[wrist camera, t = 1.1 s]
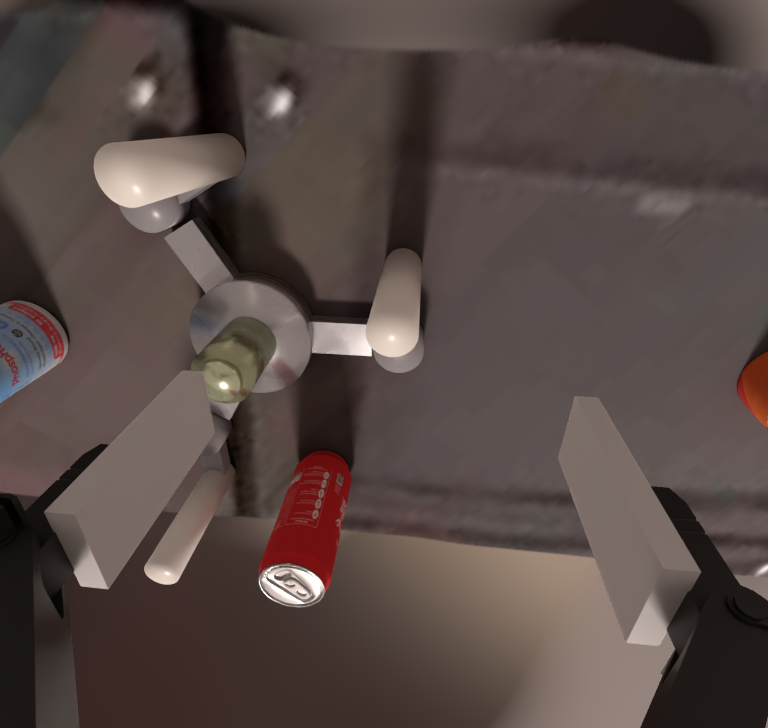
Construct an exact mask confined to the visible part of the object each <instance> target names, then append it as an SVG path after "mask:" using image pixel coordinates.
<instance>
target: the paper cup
mask: <svg viewBox="0 0 768 728" xmlns="http://www.w3.org/2000/svg"><path fill="white" fill-rule="evenodd" d="M737 392H738V395H739V397H740V398H741V400H742V401H743V402H744V404H745V405H746V406H747V407H748V408H749V410H750V411H751V412H752V413H753V414H754V415H755V416H756V417H757V418H758V420H759V421H760V422H761V423H762V424H763V425H764V426H765V427H766V428H767V429H768V351H767V352H764V353H763V354H761V355H759V356H758V357H756V358H755V359H753V360H752V361H751V362H750V363H749V364H748V365H747V366H746V367H745V368H744V370H743V371H742V373H741V374H740V376H739V379H738V382H737Z"/></svg>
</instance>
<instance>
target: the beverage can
mask: <svg viewBox="0 0 768 728" xmlns="http://www.w3.org/2000/svg"><path fill="white" fill-rule="evenodd" d="M351 481H352V477H351V474H350V471H349V467H348V464H347V462H346V461H345V460H344V459H343V458H342V457H341V456H340V455H338V454H336V453H334V452H331V451H327V450H318V451H314V452H312V453H310V454H308V455H307V456H306V457H305V458H304V459H303V460H302V461H301V462H300V463H299V464H298V465H297V467H296V470H295V473H294V475H293V478H292V481H291V483H290V486H289V489H288V491H287V494H286V497H285V499H284V502H283V505H282V507H281V510H280V513H279V515H278V518H277V521H276V523H275V526H274V529H273V531H272V534H271V537H270V540H269V542H268V545H267V547H266V550H265V553H264V556H263V558H262V561H261V564H260V567H259V572H260V576H259V585H260V588H261V590H262V591H263V592H264V593H265V594H266V595H267V596H268V597H269V598H271V599H272V600H274V601H276V602H278V603H280V604H283V605H287V606H292V607H306V606H310V605H313V604H315V603H317V602H319V601H320V600H321V599H322V597H323V595H324V593H325V591H326V589H327V588H328V587H329V585H330V581H331V576H332V571H333V567H334V562H335V557H336V552H337V548H338V543H339V538H340V533H341V529H342V524H343V519H344V514H345V510H346V505H347V500H348V495H349V491H350V486H351Z"/></svg>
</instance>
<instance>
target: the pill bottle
mask: <svg viewBox="0 0 768 728" xmlns="http://www.w3.org/2000/svg"><path fill="white" fill-rule="evenodd" d="M67 351H68V339H67V335H66V333H65V331H64V329H63V327H62V326H61V324H60V323H59V322H58V321H57V320H56V319H55V317H54V316H52V315H51V314H50V313H49V312H47V311H46V310H45V309H43V308H41V307H40V306H38V305H35V304H33V303H30V302H26V301H17V300H16V301H9V302H6V303H3V304H1V305H0V403H1V402H2V401H4V400H5V399H7V398H8V397H10V396H11V395H13V394H14V393H16V392H17V391H19V390H20V389H22V388H23V387H25V386H26V385H28V384H30V383H31V382H32V381H34V380H35V379H37V378H38V377H40V376H41V375H43V374H44V373H46V372H47V371H49V370H50V369H52V368H53V367H55V366H56V365H57V364H59V363H60V362H61V361H62V360H63V359H64V358H65V356H66V354H67Z"/></svg>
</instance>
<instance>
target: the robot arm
mask: <svg viewBox="0 0 768 728" xmlns="http://www.w3.org/2000/svg"><path fill="white" fill-rule="evenodd" d="M214 434H215V429H214V424H213V419H212V414H211V409H210V405H209V400H208V395H207V390H206V385H205V381H204V376H203V372H200V371H184V370H182V371H181V372H180V373H179V374H178V375H177V376H176V377H175V378H174V379H173V380H172V381H171V382H170V383H169V384H168V385H167V386H166V388H165V389H164V390H163V391H162V392H161V393H160V394H159V395H158V396H157V397H156V398H155V399H154V400H153V401H152V402H151V403H150V404H149V405H148V406H147V407H146V408H145V409H144V410H143V411H142V412H141V413H140V414H139V415H138V416H137V417H136V418H135V419H134V420H133V421H132V422H131V423H130V424H129V425H128V426H127V427H126V428H125V429H124V430H123V431H122V432H121V434H120V435H119V436H118V437H117V438H116V439H115V440H114V441H113V442H112V443H111V444H110V445H107V444H100V445H98V446H97V447H95V448H93V449H92V450H90V451H88V452H87V453H85V454H83V455H82V456H81V457H80V458H79V459H78V460H77V461H76V462H75V463H74V464H73V465H72V466H71V467H70V470H67V471H66V472H65V473H64V474H63V475H62V476H61V477H60V479H59V480H57V481H56V482H54V483H53V484H52V485H51V486H50V487H49V488H48V489H47V490H46V491H45V492H44V493H43V494H42V495H41V496H40V497H39V498H38V499H37V500H36V501H35V502H34V503H33V504H32V505H31V506H30V507H29V508H28V509H27V510H26V511H25V510H24V509H23V507H22V505H21V503H20V501H19V499H18V497H17V496H15V495H12V494H0V728H79V720H78V708H77V696H76V686H75V675H74V674H75V673H74V663H73V650H72V639H71V628H70V616H69V605H68V593H67V591H66V588H65V586H64V583H65V582H66V581H67V580H68V578H69V577H70V576H71V574H72V573H73V572H74V574H75V576H76V577H77V579H78V582H79V583H80V586H84V587H93V588H104V589H109V588H110V586H111V585H112V583H113V581H114V580H115V579H116V577H117V576H118V574H119V573H120V571H121V570H122V568H123V567H124V566H125V564H126V563H127V561H128V560H129V558H130V557H131V555H132V554H133V552H134V551H135V549H136V548H137V546H138V545H139V543H140V542H141V541H142V539H143V538H144V536H145V535H146V533H147V532H148V530H149V529H150V527H151V526H152V525H153V523H154V521H155V520H156V518H157V517H158V516H159V514H160V513H161V511H162V510H163V508H164V507H165V505H166V504H167V503H168V501H169V500H170V498H171V497H172V495H173V494H174V492H175V491H176V489H177V488H178V486H179V485H180V483H181V482H182V481H183V479H184V478H185V476H186V475H187V473H188V472H189V470H190V469H191V467H192V466H193V464H194V463H195V461H196V460H197V459H198V457H199V456H200V454H201V453H202V451H203V450H204V448H205V447H206V445H207V444H208V442H209V441H210V440H211V438H212V437H213V435H214ZM558 460H559V462H560V465H561V468H562V471H563V473H564V476H565V479H566V481H567V484H568V487H569V490H570V492H571V495H572V498H573V500H574V503H575V506H576V509H577V511H578V514H579V517H580V519H581V522H582V525H583V528H584V530H585V533H586V536H587V538H588V541H589V544H590V546H591V549H592V552H593V555H594V557H595V560H596V563H597V565H598V568H599V571H600V573H601V576H602V579H603V582H604V584H605V587H606V590H607V593H608V595H609V598H610V601H611V603H612V606H613V609H614V612H615V614H616V617H617V620H618V622H619V625H620V628H621V630H622V633H623V636H624V639H625V641H626V643H634V644H645V645H654V646H659V645H660V643H661V642H662V640H663V638H664V636H665V635H666V633H667V632H668V634H669V636H670V638H671V640H672V642H673V645H674V647H675V650H674V652H673V654H672V655H671V657H670V659H669V660H668V662H667V664H666V666H665V667H664V669H663V670H662V672H661V674H662V675H663V676H662V678H661V681H660V683H659V685H658V688H657V690H656V692H655V695H654V697H653V699H652V702H651V704H650V706H649V709H648V711H647V713H646V716H645V718H644V720H643V723H642V725H641V727H640V728H765V727H766V722H767V718H768V601H767V600H766V599H765V598H763V597H762V596H760V595H759V594H757V593H756V592H754V591H753V590H750V589H748V588H746V587H743V586H741V585H740V584H739V583H738V581H737V580H736V578H735V576H734V575H733V573H732V572H731V570H730V569H729V567H728V566H727V564H726V563H725V561H724V560H723V558H722V557H721V555H720V554H719V552H718V551H717V549H716V548H715V546H714V545H713V543H712V541H711V540H710V538H709V537H708V535H705V531H704V529H703V528H702V526H701V525H700V523H699V522H698V521H696V517H695V516H694V514H693V513H692V511H691V510H690V508H689V506H688V505H687V503H686V502H685V501H684V500H682V499H681V498H680V497H679V496H678V495H677V494H676V493H674V492H673V491H672V490H671V489H670V488H665V487H652V486H650V485H649V483H648V481H647V479H646V478H645V476H644V474H643V473H642V471H641V469H640V468H639V466H638V464H637V463H636V461H635V459H634V457H633V456H632V454H631V452H630V451H629V449H628V447H627V446H626V444H625V442H624V441H623V439H622V437H621V435H620V434H619V432H618V430H617V429H616V427H615V425H614V424H613V422H612V420H611V419H610V417H609V415H608V413H607V412H606V410H605V408H604V407H603V405H602V403H601V402H600V400H599V398H595V397H580V396H575V398H574V402H573V405H572V409H571V413H570V416H569V420H568V424H567V427H566V431H565V435H564V438H563V442H562V446H561V449H560V453H559V457H558Z"/></svg>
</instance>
